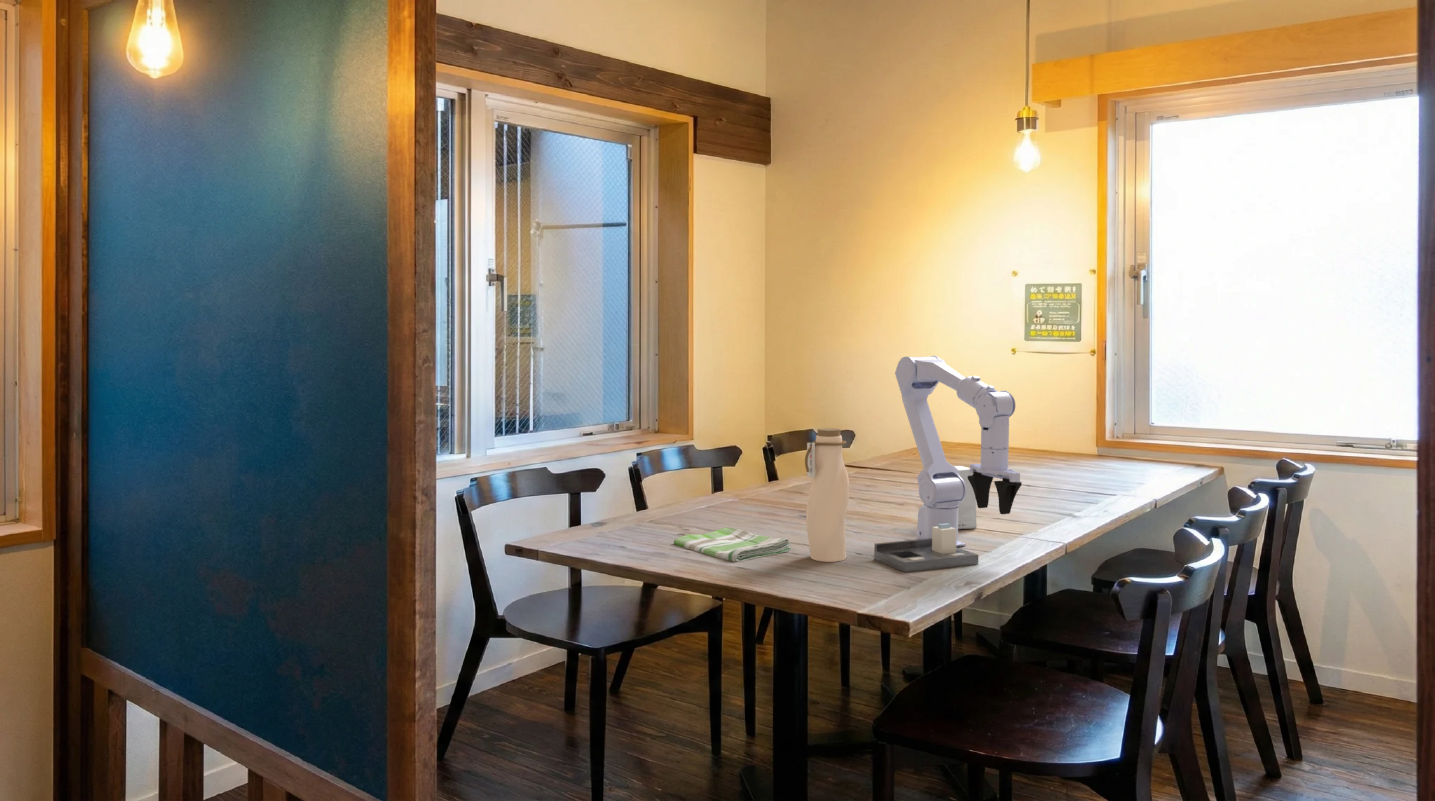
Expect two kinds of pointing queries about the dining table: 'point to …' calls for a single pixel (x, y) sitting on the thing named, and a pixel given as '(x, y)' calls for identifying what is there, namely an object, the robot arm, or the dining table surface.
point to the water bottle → (827, 496)
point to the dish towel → (734, 544)
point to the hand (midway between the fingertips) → (993, 510)
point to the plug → (944, 539)
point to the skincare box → (967, 502)
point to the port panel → (920, 556)
